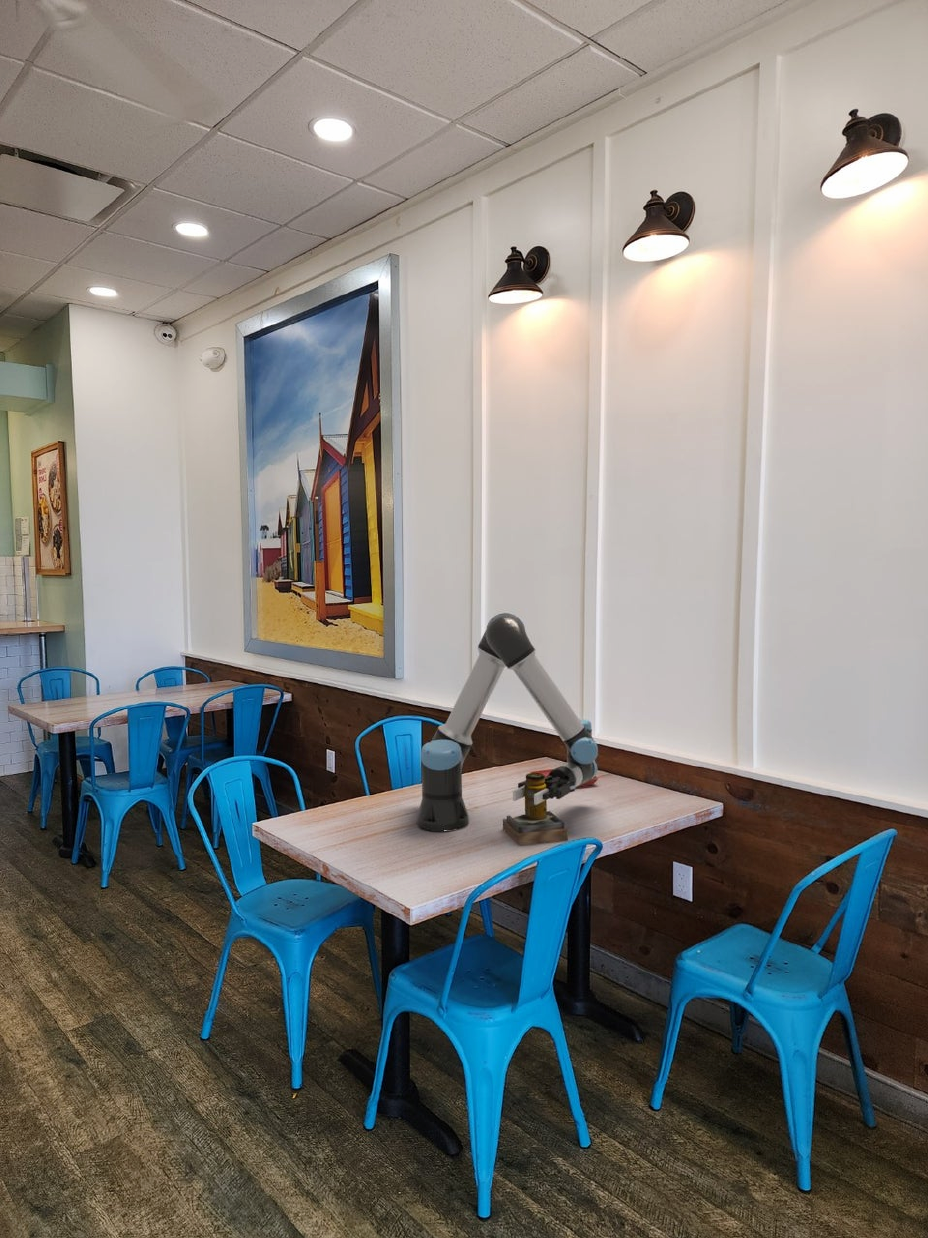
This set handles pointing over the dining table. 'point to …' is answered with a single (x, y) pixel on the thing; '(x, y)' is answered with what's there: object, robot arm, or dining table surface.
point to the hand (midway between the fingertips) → (524, 797)
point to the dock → (535, 830)
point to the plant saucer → (589, 783)
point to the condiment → (532, 811)
